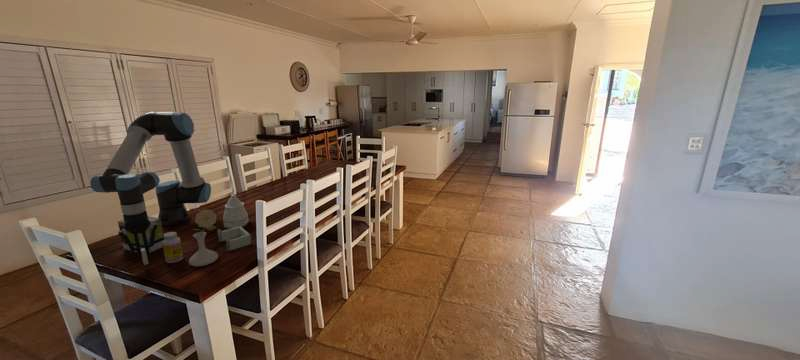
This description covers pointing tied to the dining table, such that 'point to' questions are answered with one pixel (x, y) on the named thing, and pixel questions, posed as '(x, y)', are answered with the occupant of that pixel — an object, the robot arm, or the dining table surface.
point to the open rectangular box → (232, 233)
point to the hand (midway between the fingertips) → (145, 263)
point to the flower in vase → (203, 254)
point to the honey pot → (235, 213)
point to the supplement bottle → (172, 247)
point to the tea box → (158, 235)
